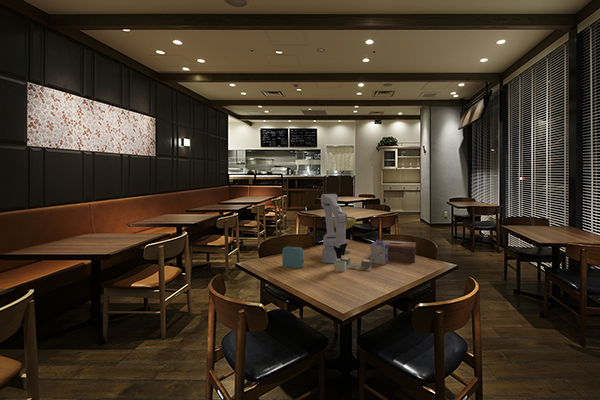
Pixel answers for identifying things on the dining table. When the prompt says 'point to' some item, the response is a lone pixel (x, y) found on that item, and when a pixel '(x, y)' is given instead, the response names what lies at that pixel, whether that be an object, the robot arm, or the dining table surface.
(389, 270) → the dining table surface
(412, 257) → the tissue box cover
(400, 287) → the dining table surface
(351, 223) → the cocktail glass
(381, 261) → the ink cartridge box
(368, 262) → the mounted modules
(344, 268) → the block
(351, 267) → the rail board
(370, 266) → the din rail
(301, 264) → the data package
